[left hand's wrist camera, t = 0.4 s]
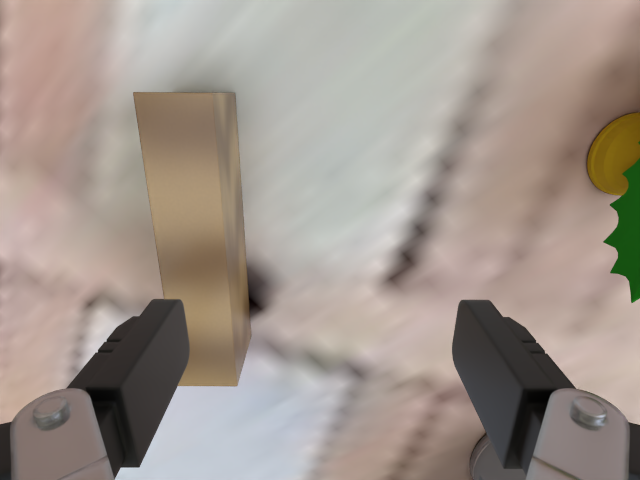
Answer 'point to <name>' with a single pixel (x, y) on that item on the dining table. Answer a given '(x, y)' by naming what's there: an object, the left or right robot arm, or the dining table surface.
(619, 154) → the ornament
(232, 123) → the bar
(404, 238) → the dining table surface
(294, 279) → the dining table surface
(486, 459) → the right robot arm
